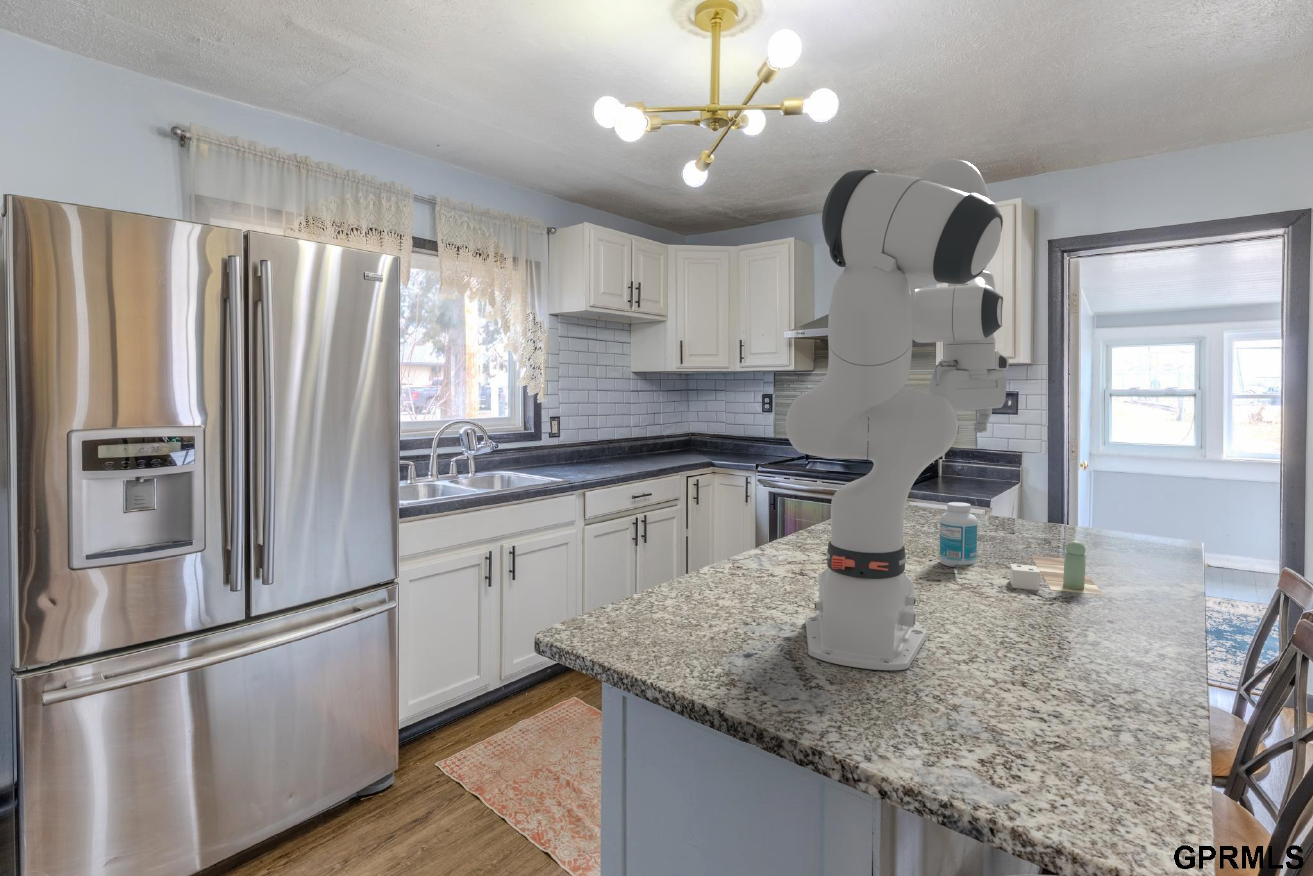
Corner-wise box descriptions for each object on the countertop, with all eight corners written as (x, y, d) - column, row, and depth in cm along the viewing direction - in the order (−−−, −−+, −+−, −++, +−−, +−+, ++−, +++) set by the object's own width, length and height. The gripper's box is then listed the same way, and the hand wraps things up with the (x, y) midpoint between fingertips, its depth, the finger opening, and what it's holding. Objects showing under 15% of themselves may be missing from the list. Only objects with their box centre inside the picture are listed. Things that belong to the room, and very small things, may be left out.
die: (1039, 595, 124) (1040, 571, 124) (1012, 593, 126) (1013, 569, 125) (1035, 588, 128) (1036, 565, 128) (1009, 586, 130) (1010, 563, 130)
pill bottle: (968, 560, 148) (970, 500, 147) (981, 569, 141) (984, 507, 140) (934, 559, 149) (936, 500, 148) (945, 568, 142) (947, 506, 140)
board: (1105, 600, 121) (1105, 595, 121) (1049, 594, 124) (1049, 589, 124) (1075, 563, 145) (1075, 559, 145) (1028, 559, 148) (1028, 555, 148)
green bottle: (1086, 590, 123) (1088, 543, 122) (1065, 588, 124) (1067, 542, 124) (1082, 585, 126) (1084, 539, 125) (1061, 583, 128) (1063, 538, 127)
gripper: (951, 359, 115) (949, 438, 116) (1013, 360, 127) (1011, 431, 128) (919, 360, 120) (918, 436, 122) (982, 360, 132) (979, 429, 133)
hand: (966, 433), depth 125 cm, fingers open, 8 cm apart
